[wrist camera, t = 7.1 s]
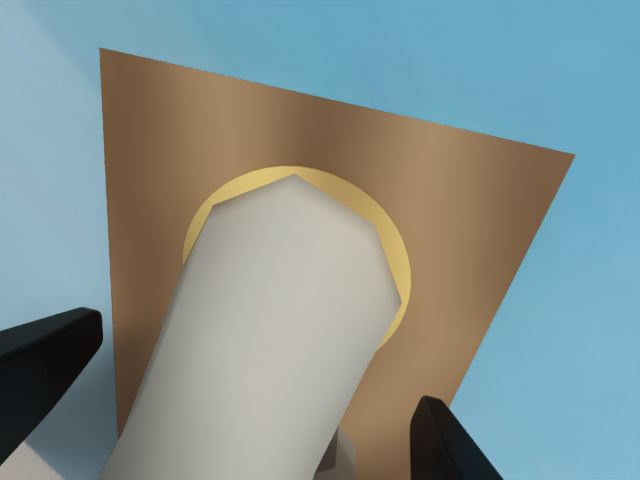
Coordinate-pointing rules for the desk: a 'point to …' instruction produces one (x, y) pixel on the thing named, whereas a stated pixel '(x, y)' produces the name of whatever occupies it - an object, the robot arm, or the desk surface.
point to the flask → (260, 341)
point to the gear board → (346, 187)
